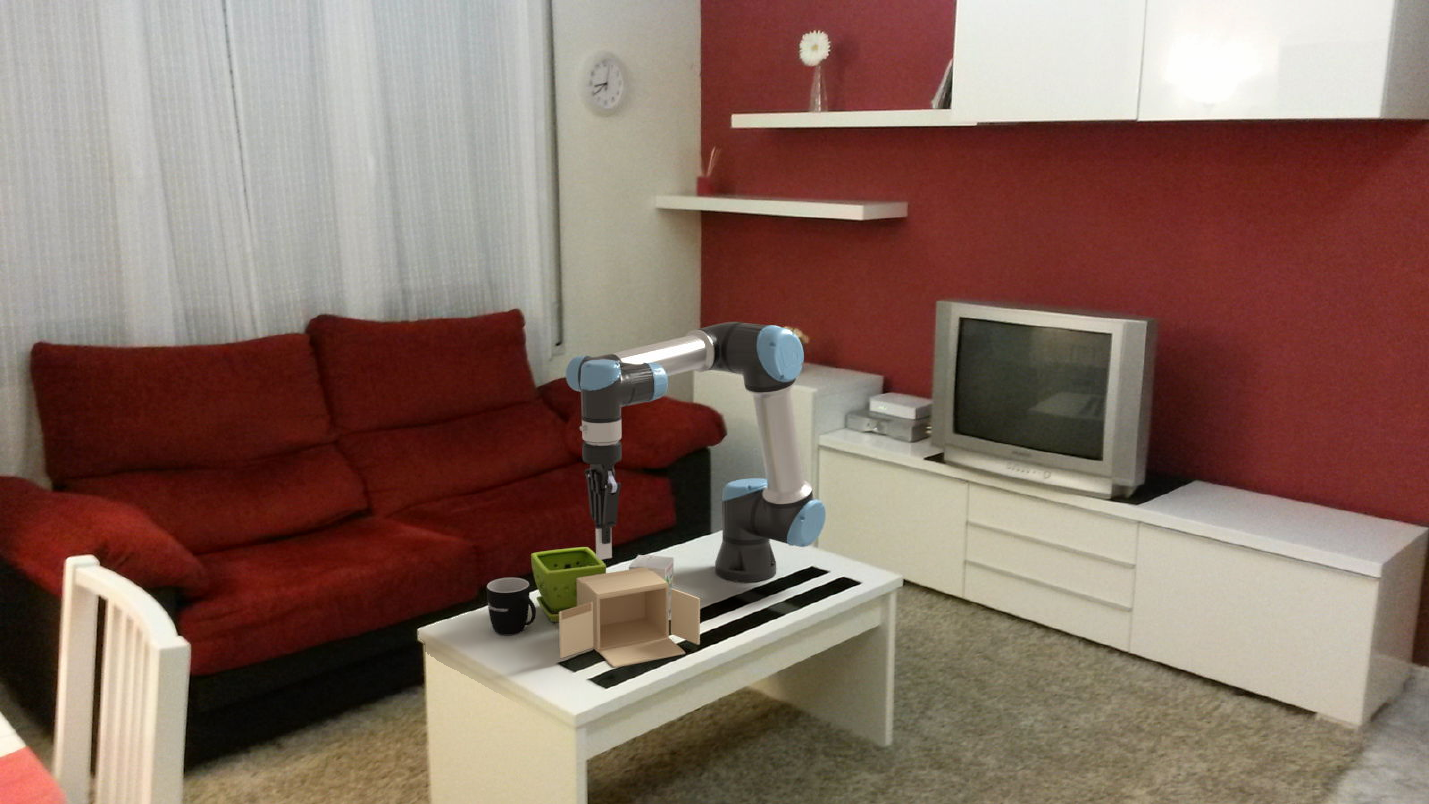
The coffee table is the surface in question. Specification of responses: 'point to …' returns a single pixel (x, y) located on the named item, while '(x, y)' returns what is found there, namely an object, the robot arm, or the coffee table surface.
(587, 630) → the flap
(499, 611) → the mug
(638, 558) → the ink box
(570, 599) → the flower pot
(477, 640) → the coffee table surface
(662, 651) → the carton
